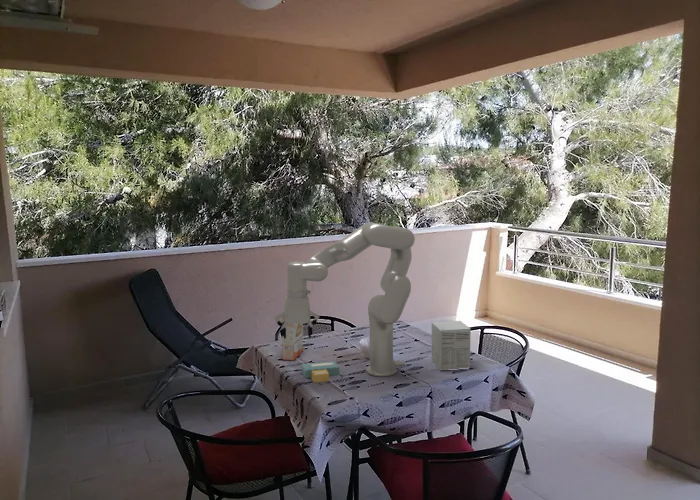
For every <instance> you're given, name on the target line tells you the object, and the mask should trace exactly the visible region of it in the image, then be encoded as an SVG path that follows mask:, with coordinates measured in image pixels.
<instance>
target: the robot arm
mask: <svg viewBox="0 0 700 500" xmlns="http://www.w3.org/2000/svg"><path fill="white" fill-rule="evenodd" d="M415 239H416V238H415V235H414V232H413V231H412V230H411V229H409V228H407V227H401V226H397V225H396V226H395V225H394V226H391V225H386V224H381V223H377V222H372V221H370V222H365V223H364V224H362V225H361V226H359V227H358V228H357V229H355V230H354V231H352V232H350V233H349V234H348V235H346V236H345V237H343V238H342V239H341V240H339V241H337V242H334V243H333V244H330V245H329V246H327V247H325V248H324V249H322V250H320V251H319V252H317V253H316V254H314V255H313V256H311V257H310V258H309V259H307V260H306V262H304V261H300V260H299V261H296V260H295V261H290V262H288V263H287V265H286V293H287V294H286V296H285V298H284V300H283V311H282V312H280V313H279V314H277V315H275V316H274V320H275V322H276V324H277V325H278V326H279V327H280V328H281V337H282V336H283V337H284V339H285V338H286V328H285V327H286V325H287V324H294V323H303V324H307V325H308V326H307V336H308V338H312V337H311V336H312V335H313V328H314V327H315V325H316V324H317V323H318V320H319V318H320V314H318V313H316V312H314V311H311V306H310V298H309V296H308V295H312V294H311V290H308V284H307V283H308V281H309V282H322V281H324V280H326V278H327V277H328V275H329V270H328V269H329V268H330V267H331V266H334V265H336V264H338V263H340V262H346V261H349V260H352V259H355V258H356V257H357V256H358V255H359V254H361V253H362V252H364V251H365V250H367V249H368V248H370V247H371V246H376V247H380V248H384V249H385V248H386V249H390V256H389V260H388V261H387V265H386V268H385V269H384V272H383V275H382V276H381V279H380V285H379V286H380V289H382V291H383V292H385V293H384V295H383V294H377V295H374V296H373V297H371V298H370V300H369V302H368V306H367V313H368V314H367V315H368V322H369V323H368V324H369V365H368V366H367V367H366V368H365V371H366V373H367V374H368V375H371V376H374V377H390V376H393V375H395V374H397V372H398V369H397V368H398V367H404V366H405V361H403V360H401V361H400V359H396V360H394V324H395V323H396V322H398V321H399V319H400V318H401V316H402V313H403V312H404V309H405V306H406V304H407V302H408V300H409V298H410V294H411V290H412V285H411V284H412V283H411V281H410V279H409V278H408V276H407V274H408V271H409V268H410V265H411V263H412V255H413V254H412V247H413V245H414V244H415ZM283 316H284V322H283V323H282V321H281V320H280V319H282V317H283ZM311 316H312V317H314V318H313V320H312V321H311Z"/></svg>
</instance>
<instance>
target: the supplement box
mask: <svg viewBox="0 0 700 500" xmlns="http://www.w3.org/2000/svg"><path fill="white" fill-rule="evenodd" d="M471 332H472V331H471V327H469V326H468V325H466V324H465V323H464V322H462V321H461V320H450V321H449V320H448V321H432V322H431V362H432V364H433V363H434V364H435V365H434V364H433V365H434V367H436V369H439V370H448V369H459V368H468V367H471ZM439 370H438V371H439Z"/></svg>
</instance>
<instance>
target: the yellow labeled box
mask: <svg viewBox="0 0 700 500" xmlns="http://www.w3.org/2000/svg"><path fill="white" fill-rule="evenodd" d="M311 373H312V378H311V380H312V382H313V383H314V384H316V383H324V382H330V376H329V373H328V371H327V370H316V371H311Z"/></svg>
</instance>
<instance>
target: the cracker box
mask: <svg viewBox="0 0 700 500" xmlns="http://www.w3.org/2000/svg"><path fill="white" fill-rule="evenodd" d="M283 322H284V316H283V317H281V323H283ZM285 328H286V338H285V339H284V337H283V336H282V335H281V345H282V346H281V347H282V349H281V352H282V353H281V356H282V360H283V361H295V360H296V359H297V358H298V357H299V356H300V355H301V354H302V353H303V351H304V323H294V324H287V325H286V327H285Z"/></svg>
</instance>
